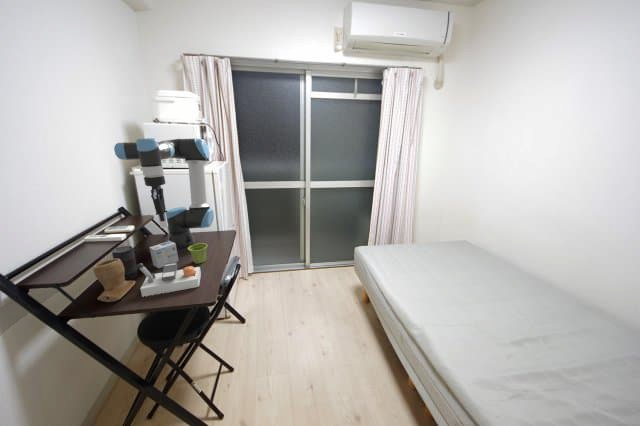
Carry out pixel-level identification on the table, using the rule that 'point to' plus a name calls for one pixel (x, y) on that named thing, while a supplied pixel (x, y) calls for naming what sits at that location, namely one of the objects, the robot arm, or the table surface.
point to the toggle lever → (144, 270)
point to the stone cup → (112, 279)
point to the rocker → (169, 271)
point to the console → (170, 283)
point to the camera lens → (127, 261)
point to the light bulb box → (164, 254)
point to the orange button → (188, 271)
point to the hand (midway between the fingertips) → (164, 226)
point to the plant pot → (198, 252)
